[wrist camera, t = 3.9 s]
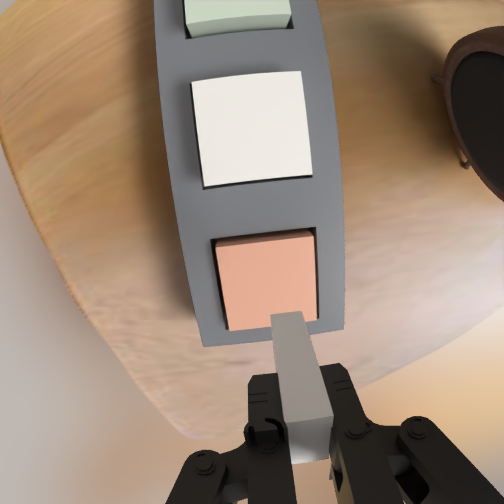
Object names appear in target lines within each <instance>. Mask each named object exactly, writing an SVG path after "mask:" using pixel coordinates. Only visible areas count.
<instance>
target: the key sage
mask: <svg viewBox="0 0 504 504" xmlns="http://www.w3.org/2000/svg"><path fill="white" fill-rule="evenodd" d="M184 2H185V15H186V25H187V27H188V29H189V31H190V34H191V36H192V38H199V37H205V36H212V35H219V34H227V33H236V32H246V31H259V30H278V29H286V27H287V24H288V21H289V19H290V16H291V9H290V4H289V0H184Z"/></svg>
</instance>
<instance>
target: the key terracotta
mask: <svg viewBox="0 0 504 504" xmlns="http://www.w3.org/2000/svg"><path fill="white" fill-rule="evenodd" d="M216 254H217V260H218V266H219V272H220V278H221V284H222V290H223V296H224V302H225V308H226V314H227V319H228V325H229V331H236V330H245V329H254V328H263V327H271V318H270V314H278V313H286V312H294V311H302V313H303V317H304V320H305V322H308V321H315V320H317V312H316V277H315V254H314V236H313V235H312V234H311V232H310V231H309V230H308V229H307V228H298V229H289V230H281V231H272V232H263V233H255V234H246V235H238V236H230V237H222V238H218V240H217V244H216Z"/></svg>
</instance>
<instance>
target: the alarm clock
mask: <svg viewBox="0 0 504 504" xmlns="http://www.w3.org/2000/svg"><path fill="white" fill-rule="evenodd" d="M431 79H432V80H433V81H434V82H436V81H437V82H438V83H439V84H441V85H442V86H443V93H444V100H445V105H446V109H447V113H448V117H449V120H450V123H451V126H452V128H453V131H454V134H455V136H456V138H457V141H458V143H459V145H460V147H461V149H462V151H463V153H464V154H465V156H466V158H467V162H465V163H463V167H464V169H466V170H467V169H469V166H472V168H473V169H474V170H475V172H476V173H477V175H478V176H479V177H480V179H481V180H482V181H483V182H484V184H485V185H486V186H487V187H488V188H489V189H490V190H491V191H492V192H493V193H494V194H495V195H496V196H497V197H498V198H499V199H501V200H502V201H503V202H504V26H496V27H489V28H485V29H482V30H479V31H477V32H474V33H471V34H469V35H467V36H465V37H463V38H461V39H460V40H458V41H457V42H456V43H455V44H454V45H453V47H452V48H451V49H450V51H449V53H448V55H447V58H446V61H445V64H444V70H443V79H442V78H439V77H437V75H435V74H433V75H432V76H431Z"/></svg>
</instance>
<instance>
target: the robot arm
mask: <svg viewBox="0 0 504 504" xmlns="http://www.w3.org/2000/svg"><path fill="white" fill-rule="evenodd" d="M270 318H271V328H272V338H273V349H274V359H275V367H276V373H271V374H262V375H253V376H252V378H251V380H250V381H249V383H248V423H247V424H246V426H245V428H244V432H243V433H244V437H245V442H244V443H243V444H242V445H241V446H239V447H238V448H236V449H234V450H232V451H228V452H225V453H222V454H219V453H218V452H215V451H212V450H201V451H197V452H195V453H193V454H191V455H190V456H189V457H188V458H187V460H186V461H185V463H184V465H183V467H182V469H181V472H180V474H179V476H178V478H177V480H176V482H175V484H174V487H173V489H172V491H171V493H170V495H169V497H168V499H167V502H166V503H165V504H237V502H238V501H240V500H243V499H246V498H248V504H297V501H296V493H295V485H294V477H293V470H292V464H298V463H305V462H311V461H318V460H323V459H328V458H329V454H330V458H331V462H332V464H331V469H330V478H329V479H330V480H331V479H332V478H333V483H334V487H335V492H336V496H337V501H338V504H404V502H405V503H406V504H504V497H503V496H502V495H501V494H500V493H499V492H498V491H497V490H496V489H495V488H494V486H493V485H492V484H491V483H490V482H489V481H488V480H487V479H486V478H485V477H484V476H483V475H482V474H481V473H480V471H478V469H477V468H476V467H475V466H474V465H473V464H472V463H471V462H470V461H469V460H468V459H467V458H466V457H465V456H464V455H463V453H462V452H461V451H460V450H459V449H458V448H457V447H456V446H455V445H454V444H453V443H452V442H451V441H450V440H449V439H448V438H447V437H446V436H445V434H444V433H443V432H442V431H441V430H440V429H439V428H438V427H437V426H436V425H435V424H434V423H433V422H432V421H431V420H429V419H428V418H425V417H422V416H413V417H410V418H407V419H406V420H405V421H404V422H402V424H401V426H383V425H378V424H375V423H373V422H372V421H371V420H369V419H368V418H367V417H366V415H365V413H364V411H363V408H362V406H361V403H360V401H359V398H358V396H357V393H356V391H355V388H354V386H353V383H352V381H351V378H350V376H349V373H348V371H347V369H345V368H344V367H343V366H342V365H341V364H340V363H336V364H330V365H324V366H319V364H318V361H317V358H316V355H315V352H314V348H313V345H312V342H311V339H310V335H309V332H308V329H307V326H306V323H305V320H304V317H303V313H302V311H294V312H286V313H278V314H270ZM403 500H404V502H403Z"/></svg>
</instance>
